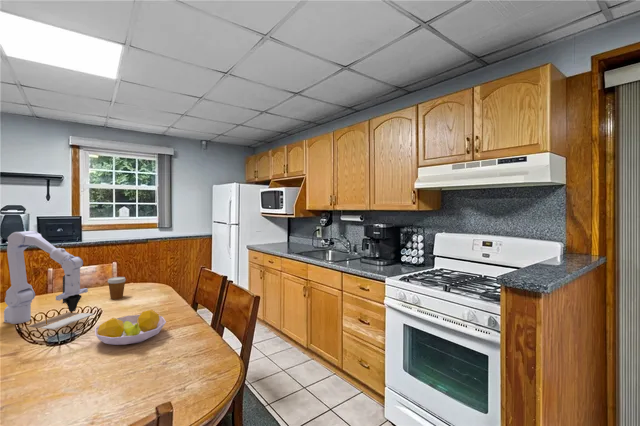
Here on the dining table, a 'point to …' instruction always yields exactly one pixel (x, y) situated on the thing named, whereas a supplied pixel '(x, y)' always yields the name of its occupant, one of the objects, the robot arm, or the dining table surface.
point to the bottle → (64, 286)
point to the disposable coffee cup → (116, 287)
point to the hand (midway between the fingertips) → (72, 311)
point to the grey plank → (67, 321)
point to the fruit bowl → (130, 328)
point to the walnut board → (52, 320)
